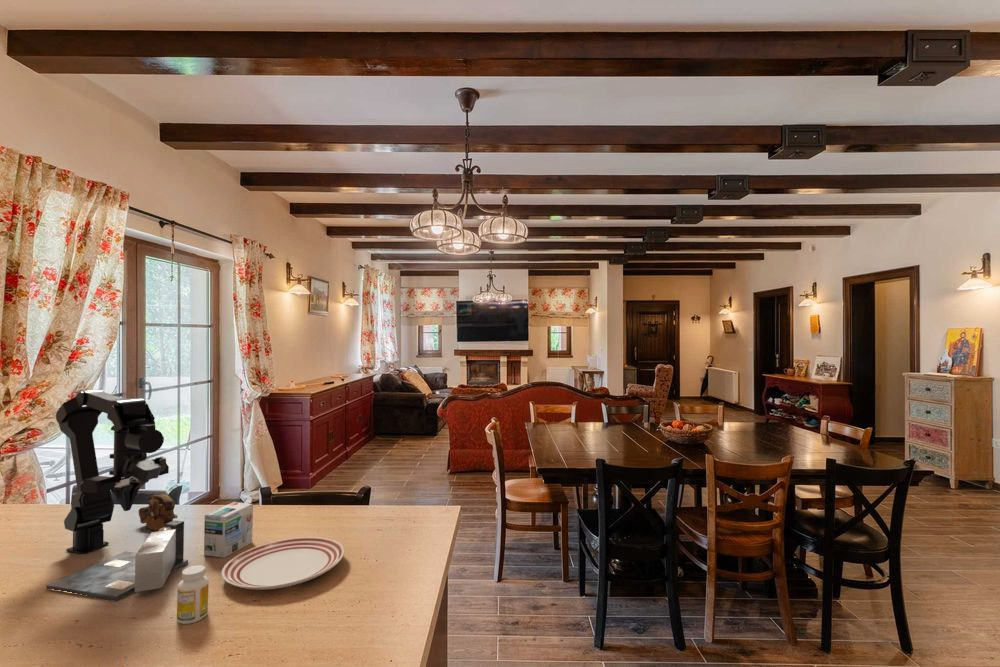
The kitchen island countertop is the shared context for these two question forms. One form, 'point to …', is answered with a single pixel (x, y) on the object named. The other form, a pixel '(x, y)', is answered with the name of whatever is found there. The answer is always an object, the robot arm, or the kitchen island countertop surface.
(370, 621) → the kitchen island countertop surface
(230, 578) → the dinner plate
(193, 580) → the supplement bottle
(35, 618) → the kitchen island countertop surface
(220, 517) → the light bulb box
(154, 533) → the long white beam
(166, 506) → the wooden carving
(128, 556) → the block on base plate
